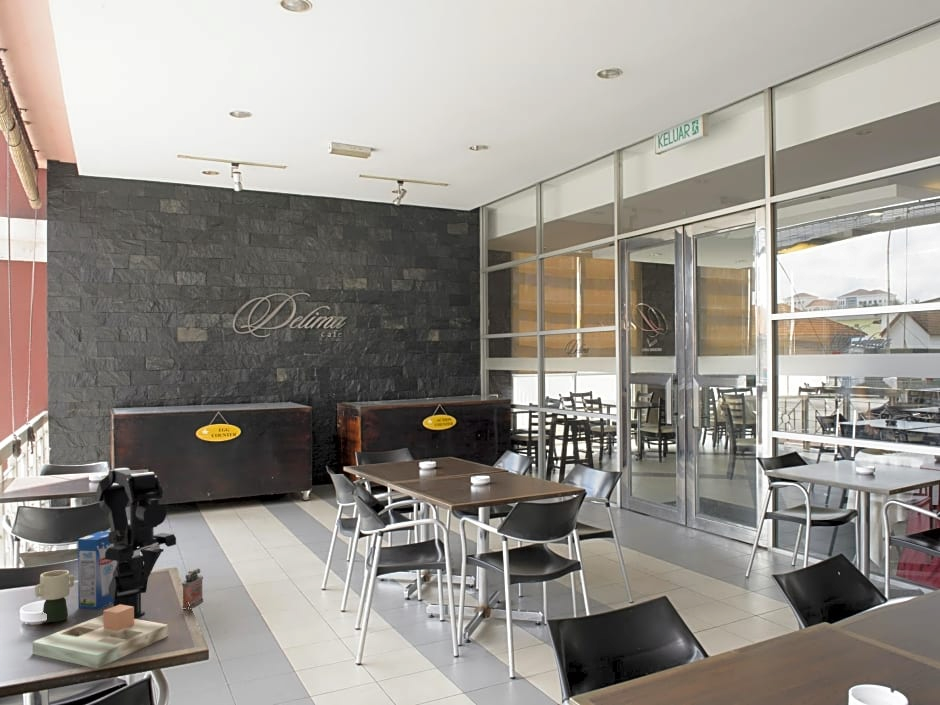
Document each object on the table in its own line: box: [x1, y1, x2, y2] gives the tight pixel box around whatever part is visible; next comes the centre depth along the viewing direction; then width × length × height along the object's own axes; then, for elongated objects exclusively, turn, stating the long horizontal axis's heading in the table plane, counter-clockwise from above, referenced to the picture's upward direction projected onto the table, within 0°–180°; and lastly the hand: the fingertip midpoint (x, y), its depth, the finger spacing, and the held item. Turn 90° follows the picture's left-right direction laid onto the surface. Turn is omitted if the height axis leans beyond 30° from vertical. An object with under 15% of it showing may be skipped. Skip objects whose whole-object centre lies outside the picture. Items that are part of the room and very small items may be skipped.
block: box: [102, 604, 135, 631], centre depth 187 cm, size 5×5×4 cm
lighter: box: [181, 568, 204, 610], centre depth 212 cm, size 8×3×10 cm, turn 168°
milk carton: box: [77, 530, 117, 611], centre depth 215 cm, size 10×6×20 cm, turn 170°
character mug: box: [34, 569, 75, 623], centre depth 200 cm, size 11×7×13 cm, turn 153°
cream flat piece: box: [32, 614, 169, 669], centre depth 183 cm, size 21×22×3 cm
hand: (142, 578), depth 194 cm, fingers open, 3 cm apart
